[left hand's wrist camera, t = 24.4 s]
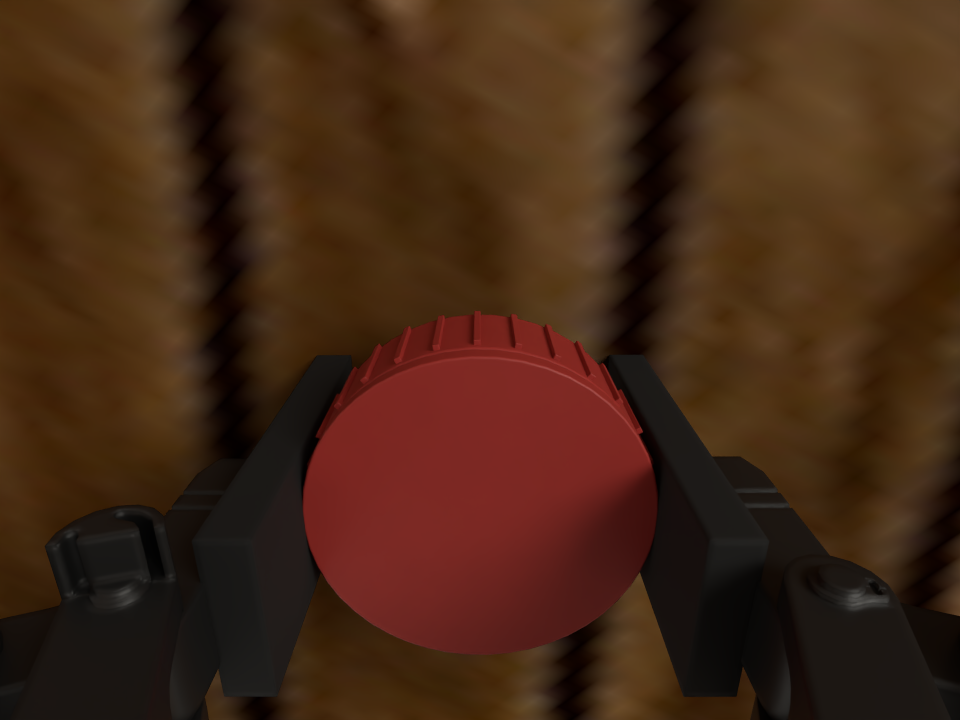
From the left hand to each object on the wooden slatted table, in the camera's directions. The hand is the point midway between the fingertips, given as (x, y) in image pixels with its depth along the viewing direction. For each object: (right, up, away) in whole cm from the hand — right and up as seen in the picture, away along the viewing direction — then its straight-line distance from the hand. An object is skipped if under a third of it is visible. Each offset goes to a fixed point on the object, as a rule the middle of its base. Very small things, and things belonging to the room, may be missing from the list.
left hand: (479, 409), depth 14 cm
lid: (0, -1, -4) cm, 4 cm away
